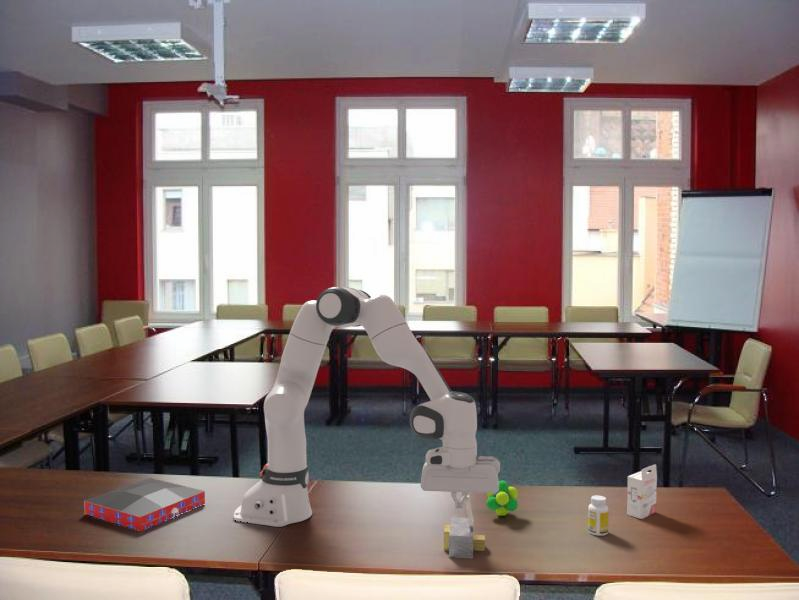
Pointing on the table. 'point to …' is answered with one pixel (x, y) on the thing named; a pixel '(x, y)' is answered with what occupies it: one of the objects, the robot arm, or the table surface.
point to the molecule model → (503, 499)
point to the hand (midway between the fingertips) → (459, 507)
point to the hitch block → (460, 538)
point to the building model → (144, 503)
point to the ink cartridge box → (642, 493)
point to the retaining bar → (469, 512)
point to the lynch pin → (477, 540)
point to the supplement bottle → (598, 516)
